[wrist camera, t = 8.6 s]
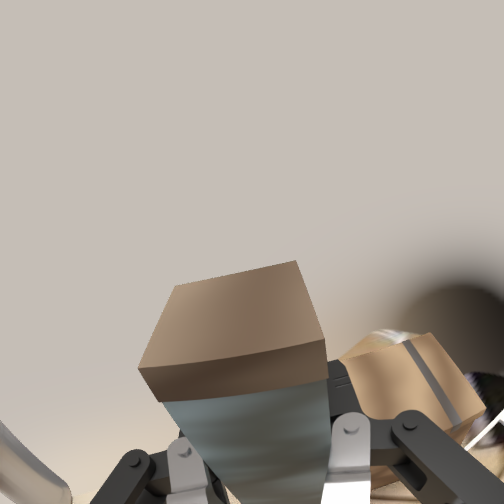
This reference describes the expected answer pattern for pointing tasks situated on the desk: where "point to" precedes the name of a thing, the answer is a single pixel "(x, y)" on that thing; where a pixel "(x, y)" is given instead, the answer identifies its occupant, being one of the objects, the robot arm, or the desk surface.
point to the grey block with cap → (247, 381)
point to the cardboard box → (413, 390)
